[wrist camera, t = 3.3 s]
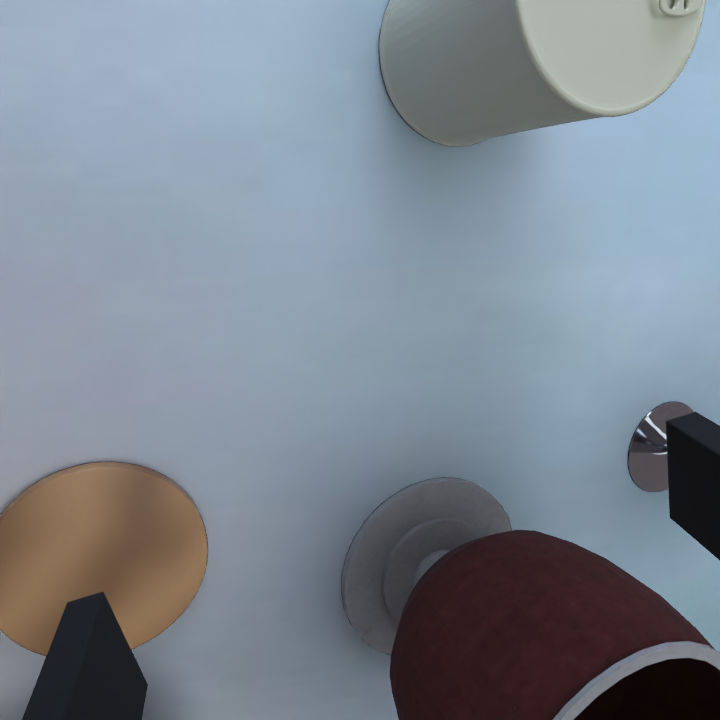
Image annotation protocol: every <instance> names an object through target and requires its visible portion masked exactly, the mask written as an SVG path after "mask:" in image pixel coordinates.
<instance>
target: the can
mask: <svg viewBox="0 0 720 720" xmlns="http://www.w3.org/2000/svg"><path fill="white" fill-rule="evenodd" d="M705 2H706V0H390V2H389V4H388V7H387V9H386V12H385V15H384V18H383V22H382V27H381V32H380V43H379V56H380V64H381V71H382V75H383V79H384V83H385V86H386V89H387V92H388V94H389V96H390V98H391V101H392V103H393V104H394V106H395V108H396V109H397V111H398V112H399V114H400V115H401V116H402V118H403V119H404V120H405V121H406V122H407V123H408V124H409V125H410V126H411V127H412V128H413V129H414V130H415V131H416V132H418V133H419V134H420V135H422V136H424V137H425V138H427V139H429V140H431V141H433V142H436V143H439V144H442V145H447V146H455V147H457V146H469V145H473V144H477V143H480V142H482V141H484V140H486V139H489V138H493V137H498V136H502V135H507V134H512V133H517V132H522V131H527V130H532V129H538V128H543V127H548V126H553V125H559V124H564V123H570V122H576V121H581V120H587V119H593V118H599V117H615V116H622V115H626V114H630V113H633V112H635V111H638V110H640V109H642V108H644V107H646V106H647V105H649V104H650V103H652V102H653V101H655V100H656V99H657V98H658V97H660V96H661V95H662V94H663V93H664V92H665V91H666V90H667V89H668V88H669V87H670V86H671V85H672V83H673V82H674V81H675V79H676V78H677V77H678V76H679V74H680V73H681V71H682V69H683V68H684V66H685V64H686V63H687V61H688V59H689V57H690V55H691V52H692V50H693V48H694V45H695V43H696V40H697V37H698V34H699V31H700V27H701V23H702V19H703V14H704V9H705Z"/></svg>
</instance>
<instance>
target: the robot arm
mask: <svg viewBox="0 0 720 720" xmlns="http://www.w3.org/2000/svg"><path fill="white" fill-rule="evenodd" d="M666 440H667V463H668V485H669V508H670V518H671V519H672V520H673V521H675V522H676V523H677V524H678V525H679V526H680V527H682V528H683V529H684V530H685V531H686V532H687V533H689V534H690V535H691V536H692V537H693V538H694V539H696V540H697V541H698V542H699V543H700V544H701V545H703V546H704V547H705V548H706V549H707V550H708V551H710V552H711V553H712V554H713V555H714V556H715V557H717V558H718V559H719V560H720V426H719V425H717V424H715V423H714V422H712V421H710V420H709V419H707V418H705V417H703V416H702V415H700V414H698V413H696V412H694V413H690V414H687V415H684V416H680V417H677V418H674V419H670V420H667V421H666ZM147 685H148V684H147V682H146V680H145V678H144V676H143V674H142V672H141V670H140V668H139V665H138V663H137V661H136V659H135V657H134V655H133V653H132V651H131V649H130V646H129V644H128V642H127V640H126V638H125V636H124V634H123V632H122V630H121V627H120V625H119V623H118V621H117V619H116V617H115V615H114V613H113V611H112V608H111V606H110V604H109V602H108V600H107V598H106V596H105V594H104V592H100V593H96V594H93V595H90V596H86V597H83V598H80V599H77V600H73V601H70V602H67V604H66V607H65V609H64V612H63V615H62V617H61V620H60V622H59V625H58V628H57V630H56V633H55V635H54V638H53V641H52V643H51V646H50V649H49V651H48V654H47V656H46V659H45V662H44V664H43V667H42V669H41V672H40V675H39V677H38V680H37V683H36V685H35V688H34V690H33V693H32V696H31V698H30V701H29V703H28V706H27V709H26V711H25V714H24V717H23V719H22V720H142V714H143V708H144V702H145V697H146V691H147Z"/></svg>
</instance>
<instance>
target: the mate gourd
mask: <svg viewBox="0 0 720 720" xmlns="http://www.w3.org/2000/svg"><path fill="white" fill-rule="evenodd" d="M341 594H342V600H343V606H344V609H345V612H346V614H347V616H348V619H349V621H350V623H351V625H352V626H353V628H354V629H355V631H356V632H357V633H358V635H359V636H360V637H361V638H362V640H363V641H364V642H366V643H367V644H368V645H370V646H371V647H372V648H374V649H375V650H378V651H380V652H382V653H385V654H387V655H391V663H390V680H391V686H392V693H393V697H394V701H395V705H396V709H397V713H398V717H399V720H720V653H719V652H718V651H716V650H715V649H714V648H713V647H712V646H711V645H710V643H709V642H708V641H707V640H706V639H705V638H704V637H703V636H702V635H701V633H700V632H699V631H698V630H697V629H696V628H695V627H694V626H693V625H692V624H691V623H690V622H688V621H687V620H686V619H685V618H684V617H683V616H682V615H681V614H680V613H679V612H678V611H677V610H675V609H674V608H673V607H672V606H671V605H670V604H669V603H668V602H667V601H666V600H665V599H664V598H662V597H661V596H660V595H659V594H657V593H656V592H654V591H653V590H652V589H650V588H649V587H647V586H646V585H644V584H643V583H641V582H640V581H638V580H637V579H635V578H634V577H633V576H631V575H630V574H628V573H627V572H625V571H624V570H622V569H621V568H619V567H618V566H616V565H615V564H613V563H612V562H610V561H609V560H607V559H605V558H603V557H601V556H599V555H597V554H595V553H593V552H591V551H589V550H587V549H584V548H582V547H580V546H578V545H576V544H574V543H572V542H569V541H566V540H563V539H560V538H556V537H553V536H550V535H547V534H544V533H540V532H537V531H528V530H513V531H512V528H511V524H510V521H509V518H508V516H507V514H506V512H505V510H504V509H503V507H502V505H501V504H500V503H499V502H498V501H497V500H496V499H495V498H494V497H493V496H492V495H491V494H490V493H488V492H487V491H486V490H484V489H482V488H481V487H479V486H478V485H476V484H474V483H472V482H468V481H465V480H462V479H457V478H445V477H444V478H436V479H429V480H425V481H422V482H419V483H416V484H413V485H410V486H408V487H407V488H405V489H403V490H401V491H399V492H397V493H396V494H394V495H393V496H391V497H390V498H389V499H388V500H386V501H385V502H384V503H382V504H381V505H380V506H379V507H378V508H377V509H376V510H375V511H374V512H373V513H372V514H371V515H370V516H369V518H368V519H367V520H366V521H365V522H364V524H363V525H362V527H361V528H360V530H359V531H358V533H357V534H356V536H355V537H354V539H353V542H352V544H351V546H350V548H349V551H348V553H347V555H346V559H345V563H344V567H343V571H342V582H341Z"/></svg>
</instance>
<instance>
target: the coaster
mask: <svg viewBox="0 0 720 720" xmlns="http://www.w3.org/2000/svg"><path fill="white" fill-rule="evenodd" d="M207 558H208V541H207V535H206V530H205V526H204V523H203V520H202V518H201V515H200V513H199V510H198V509H197V507H196V505H195V504H194V502H193V500H192V499H191V498H190V497H189V496H188V494H187V493H186V492H185V491H184V490H183V489H182V488H181V487H180V486H179V485H177V484H176V483H175V482H173V481H172V480H170V479H169V478H168V477H166V476H164V475H162V474H160V473H158V472H156V471H154V470H151V469H148V468H145V467H142V466H138V465H134V464H129V463H119V462H97V463H90V464H83V465H79V466H75V467H71V468H67V469H64V470H62V471H59V472H57V473H54V474H52V475H50V476H48V477H46V478H44V479H42V480H40V481H38V482H37V483H35V484H34V485H32V486H31V487H29V488H28V489H26V490H25V491H24V492H22V493H21V494H20V495H19V496H18V497H17V498H16V499H14V500H13V501H12V502H11V503H10V505H9V506H8V507H7V508H6V509H5V510H4V511H3V513H2V514H1V515H0V630H1V631H2V632H3V633H4V634H5V635H7V636H8V637H9V638H10V639H11V640H13V641H14V642H16V643H17V644H19V645H20V646H22V647H24V648H26V649H28V650H30V651H32V652H35V653H38V654H41V655H44V656H47V654H48V651H49V649H50V646H51V643H52V641H53V638H54V635H55V633H56V630H57V628H58V625H59V622H60V620H61V617H62V615H63V612H64V609H65V607H66V604H67V602H70V601H73V600H77V599H80V598H83V597H86V596H90V595H93V594H96V593H100V592H104V594H105V596H106V598H107V600H108V602H109V604H110V606H111V608H112V611H113V613H114V615H115V617H116V619H117V621H118V623H119V625H120V627H121V630H122V632H123V634H124V636H125V638H126V640H127V642H128V644H129V646H130V649H134V648H136V647H138V646H140V645H142V644H144V643H146V642H148V641H149V640H151V639H152V638H154V637H156V636H157V635H159V634H160V633H161V632H163V631H164V630H165V629H167V628H168V627H169V626H170V625H171V624H172V623H173V622H174V621H176V620H177V619H178V618H179V617H180V615H181V614H182V613H183V612H184V611H185V609H186V608H187V607H188V606H189V604H190V603H191V601H192V600H193V598H194V597H195V595H196V593H197V591H198V589H199V587H200V585H201V582H202V579H203V577H204V574H205V570H206V565H207Z"/></svg>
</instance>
